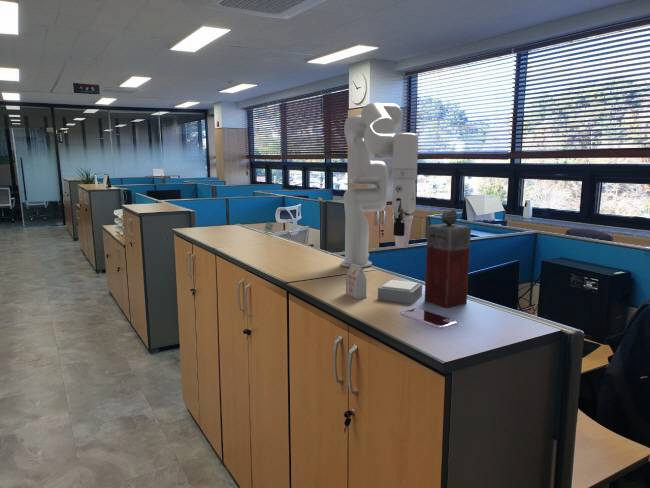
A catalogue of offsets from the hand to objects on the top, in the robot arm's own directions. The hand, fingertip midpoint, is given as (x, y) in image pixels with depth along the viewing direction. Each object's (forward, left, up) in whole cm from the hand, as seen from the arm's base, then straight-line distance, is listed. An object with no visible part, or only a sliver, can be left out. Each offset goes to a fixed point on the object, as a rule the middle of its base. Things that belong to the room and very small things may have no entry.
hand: (402, 233), depth 146 cm
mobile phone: (+17, +13, -21) cm, 30 cm away
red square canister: (-1, +13, -20) cm, 24 cm away
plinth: (0, 0, -20) cm, 20 cm away
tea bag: (+5, -13, -20) cm, 25 cm away
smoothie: (0, 0, -4) cm, 4 cm away
